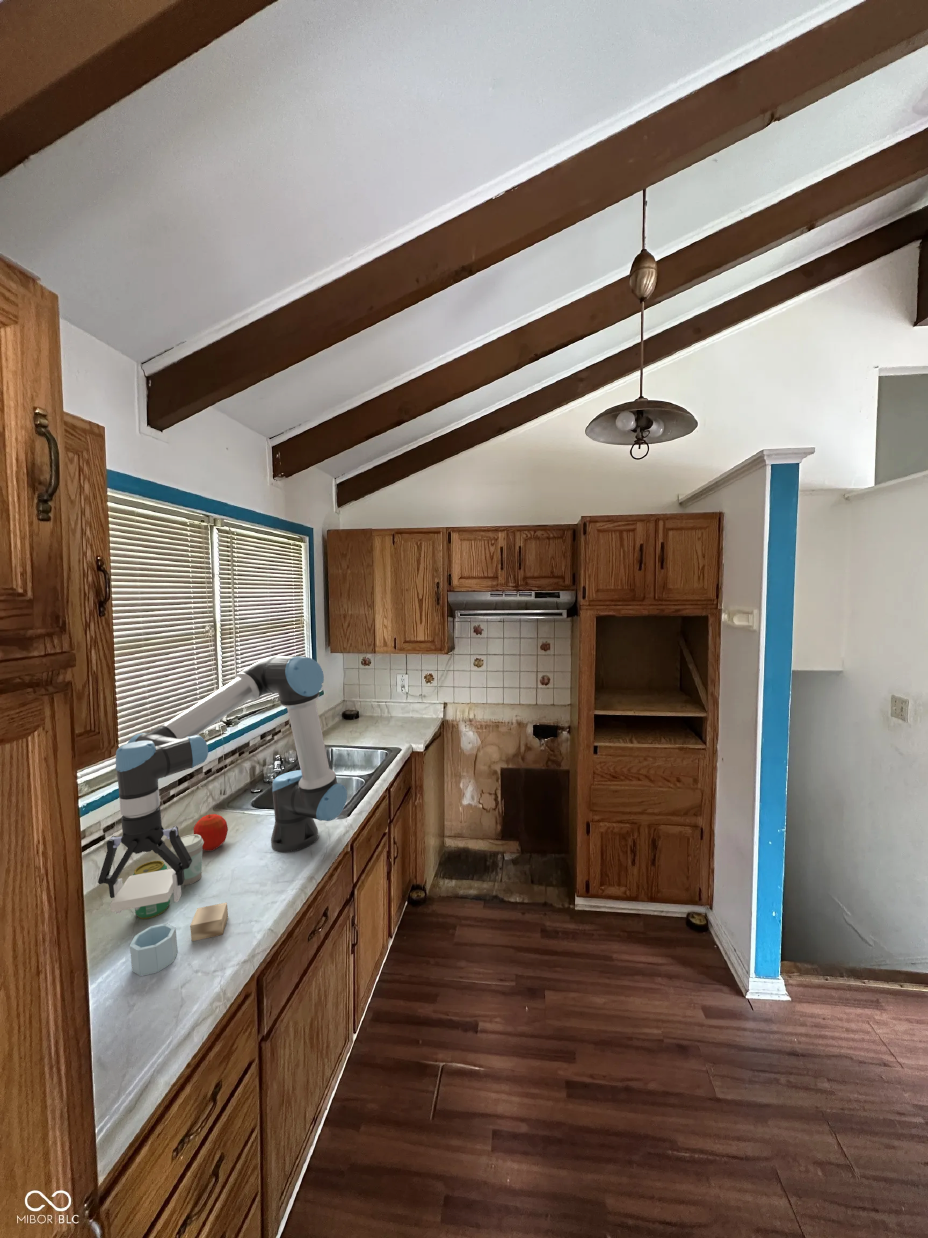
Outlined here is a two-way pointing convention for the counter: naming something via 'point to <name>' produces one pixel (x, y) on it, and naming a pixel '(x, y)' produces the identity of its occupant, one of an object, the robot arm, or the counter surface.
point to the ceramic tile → (144, 890)
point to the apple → (211, 831)
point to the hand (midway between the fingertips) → (149, 904)
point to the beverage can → (152, 909)
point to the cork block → (209, 921)
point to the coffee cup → (192, 857)
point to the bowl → (153, 949)
